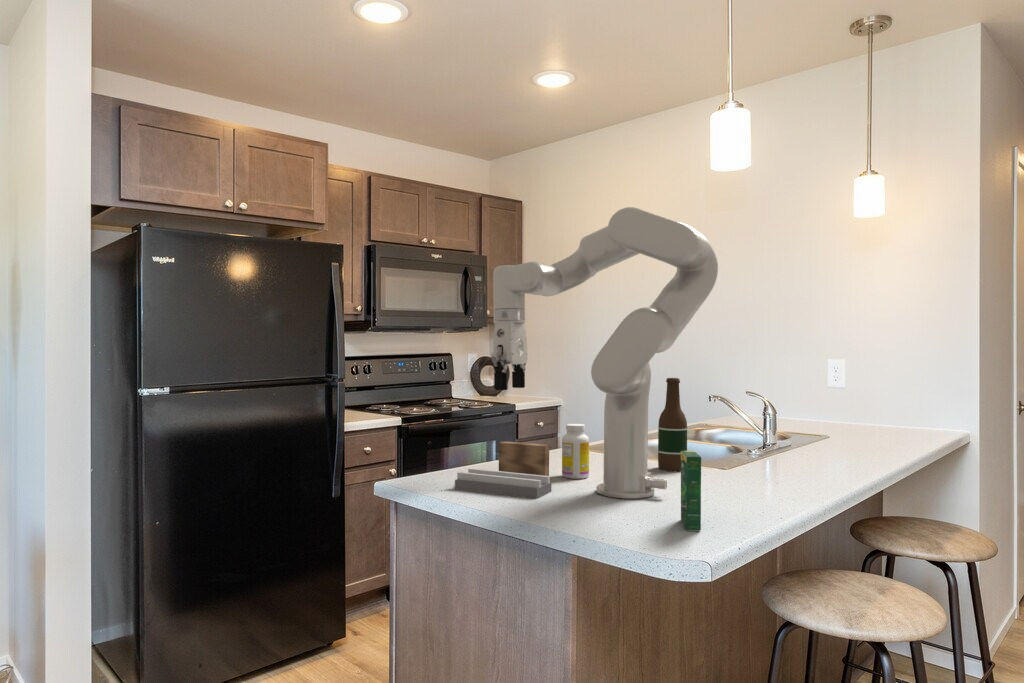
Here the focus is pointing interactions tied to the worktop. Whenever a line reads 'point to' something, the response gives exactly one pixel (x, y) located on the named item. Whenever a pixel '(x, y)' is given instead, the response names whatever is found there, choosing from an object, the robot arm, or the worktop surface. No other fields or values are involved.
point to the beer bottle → (671, 430)
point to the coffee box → (691, 490)
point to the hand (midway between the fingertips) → (510, 388)
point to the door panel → (524, 458)
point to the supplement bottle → (575, 452)
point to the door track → (503, 483)
